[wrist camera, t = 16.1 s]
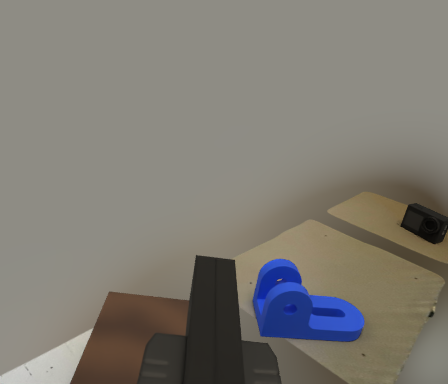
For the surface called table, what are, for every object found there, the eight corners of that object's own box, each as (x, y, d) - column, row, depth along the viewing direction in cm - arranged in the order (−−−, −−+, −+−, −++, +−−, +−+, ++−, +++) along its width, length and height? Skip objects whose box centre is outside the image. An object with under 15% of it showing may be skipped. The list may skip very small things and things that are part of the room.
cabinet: (182, 460, 38) (193, 396, 35) (69, 451, 37) (69, 385, 34) (190, 356, 51) (199, 301, 47) (106, 347, 50) (109, 291, 46)
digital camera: (397, 226, 104) (405, 204, 102) (407, 223, 107) (416, 202, 104) (432, 245, 96) (442, 221, 94) (442, 241, 99) (452, 219, 97)
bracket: (260, 336, 56) (272, 289, 53) (252, 300, 64) (262, 257, 61) (369, 342, 59) (387, 298, 55) (348, 307, 66) (363, 266, 63)
